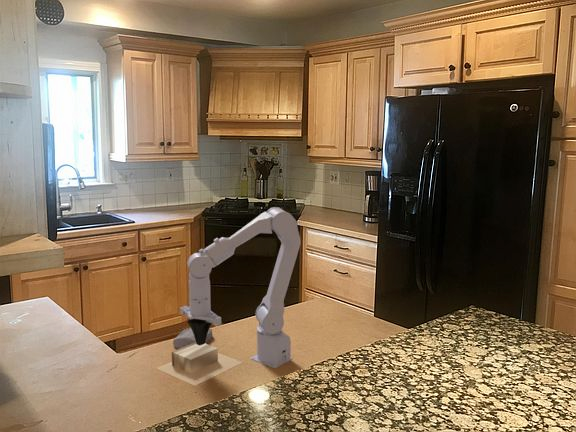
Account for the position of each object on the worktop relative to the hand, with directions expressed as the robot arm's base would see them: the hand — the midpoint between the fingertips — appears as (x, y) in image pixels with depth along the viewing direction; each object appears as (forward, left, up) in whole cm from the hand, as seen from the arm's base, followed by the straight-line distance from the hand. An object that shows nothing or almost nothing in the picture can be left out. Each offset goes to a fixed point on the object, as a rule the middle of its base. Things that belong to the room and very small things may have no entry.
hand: (200, 343), depth 149 cm
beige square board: (+1, 0, -7) cm, 7 cm away
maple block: (-1, 0, -4) cm, 5 cm away
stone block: (+15, -10, -8) cm, 20 cm away
